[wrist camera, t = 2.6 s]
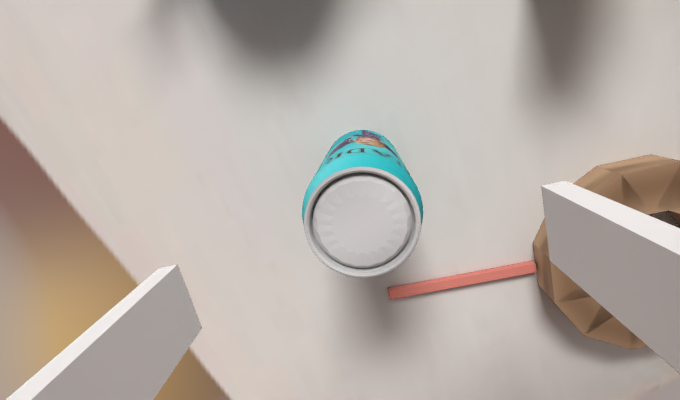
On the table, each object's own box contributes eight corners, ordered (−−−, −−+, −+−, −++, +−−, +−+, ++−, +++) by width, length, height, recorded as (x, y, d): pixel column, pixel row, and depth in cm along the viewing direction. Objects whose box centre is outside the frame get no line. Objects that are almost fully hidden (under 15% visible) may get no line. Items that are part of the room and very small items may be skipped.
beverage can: (397, 126, 30) (430, 158, 15) (397, 196, 31) (426, 284, 17) (325, 129, 30) (292, 162, 16) (329, 197, 32) (301, 285, 17)
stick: (388, 288, 34) (388, 291, 33) (532, 260, 32) (535, 263, 32) (390, 295, 34) (390, 299, 33) (533, 268, 32) (536, 272, 32)
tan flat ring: (525, 181, 30) (542, 191, 28) (727, 137, 29) (768, 142, 26) (544, 337, 34) (561, 360, 31) (724, 307, 32) (759, 328, 30)
